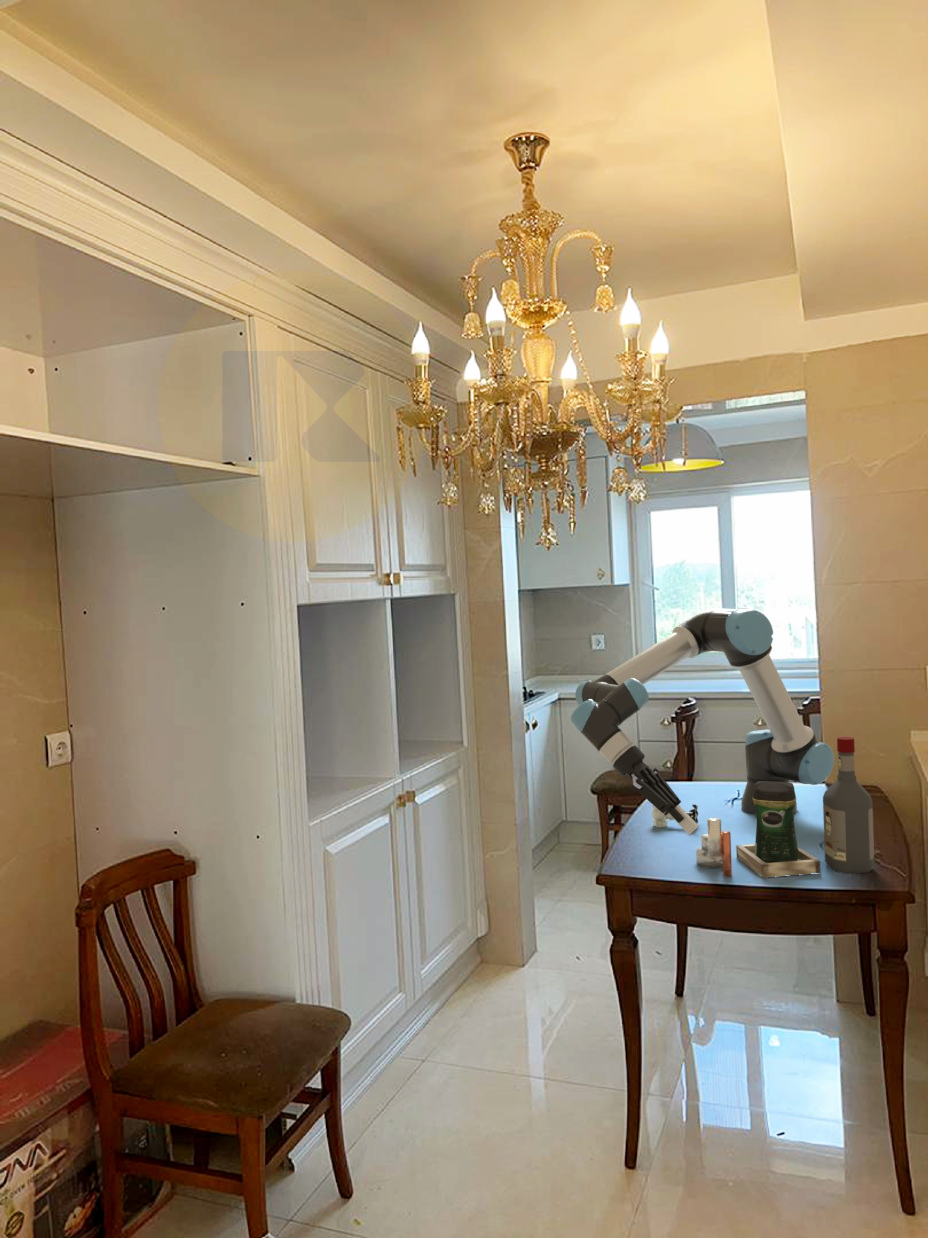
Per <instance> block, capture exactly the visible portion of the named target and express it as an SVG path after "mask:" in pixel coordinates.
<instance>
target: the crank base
mask: <svg viewBox="0 0 928 1238" xmlns="http://www.w3.org/2000/svg"><path fill="white" fill-rule="evenodd" d="M721 836H722V856H720V858H711V857H710V855H709V853H708V852H707V851H704V850H702V846H701V847H699V848H697V849H695V857H696V865H697V866H699V867H701V868H706V869H720V868H722V876H723V877H724V876H725V877H726V878H731V877H733V869H732V867H733V866H732V865H733V863H732V843H731V842H732V840H731V837H732V836H731V831H728V830H723V831H722V830H721ZM725 877H724V878H725Z"/></svg>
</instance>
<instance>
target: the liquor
mask: <svg viewBox="0 0 928 1238" xmlns="http://www.w3.org/2000/svg"><path fill="white" fill-rule="evenodd" d="M855 747H856V746H855V737H850V736H838V737H837V738H836V750H837V758H838V759H837V765H838V766H837V768H838V769H837V771H838V773H837V775H836V778H837V779H836V780H835V781H834V782H833V783H832V784H831V785H830V786H829V787H828V788H827V789H826V790H825V791H824V792H823V795H822V810H823V811H822V812H823V842H824V862H825V863H826V865H827V866H828V867H829V866H830V867H829V868H831V869H832V870H833V869H834V870H833V871H834V872H837V873H841V872H842V873H843V874H846V873H847V874H848V873H851V874H866V873H870V872H871V871H872V870H873V869H874V867H875V843H874V841H875V838H874V809H873V807H874V806H873V799H872V796H871V794H870V793H869V792H868V791H867V789H865V788H864V787H863V786H862V784H860V782H859V781H858V780H857V776H856V769H855V752H856V751H855V749H856V748H855ZM842 873H841V874H842ZM848 875H849V874H848Z"/></svg>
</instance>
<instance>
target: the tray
mask: <svg viewBox="0 0 928 1238" xmlns="http://www.w3.org/2000/svg"><path fill="white" fill-rule="evenodd" d="M735 846H736V859H738V860H739V861H741V862H742V863H743V864H744V865H745V866H747V867H749V868H750V869H751V870H752V871H753V870H754V871H753V872H755V873H756V874H757V873H758V874H757V875H759V876H760V875H761V876H762V877H761V876H760V877H761V878H762V879H769V878H768V877H775V876H785V875H799V874H811V873H821V871H822V870H821V860H820V859H818V858H817V857H815V856H814V855H812V854H811V853H809V852H808V851H806V850H804V849H803V848H801V847H799V846H798V855H799V858H798V860H797V861H788V862H776V863H765V862H764V861H762V860H761V859H760V858H758V857H757V856H755V843H751V844H737V845H735ZM821 874H822V873H821ZM799 876H800V875H799ZM775 878H776V877H775Z"/></svg>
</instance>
